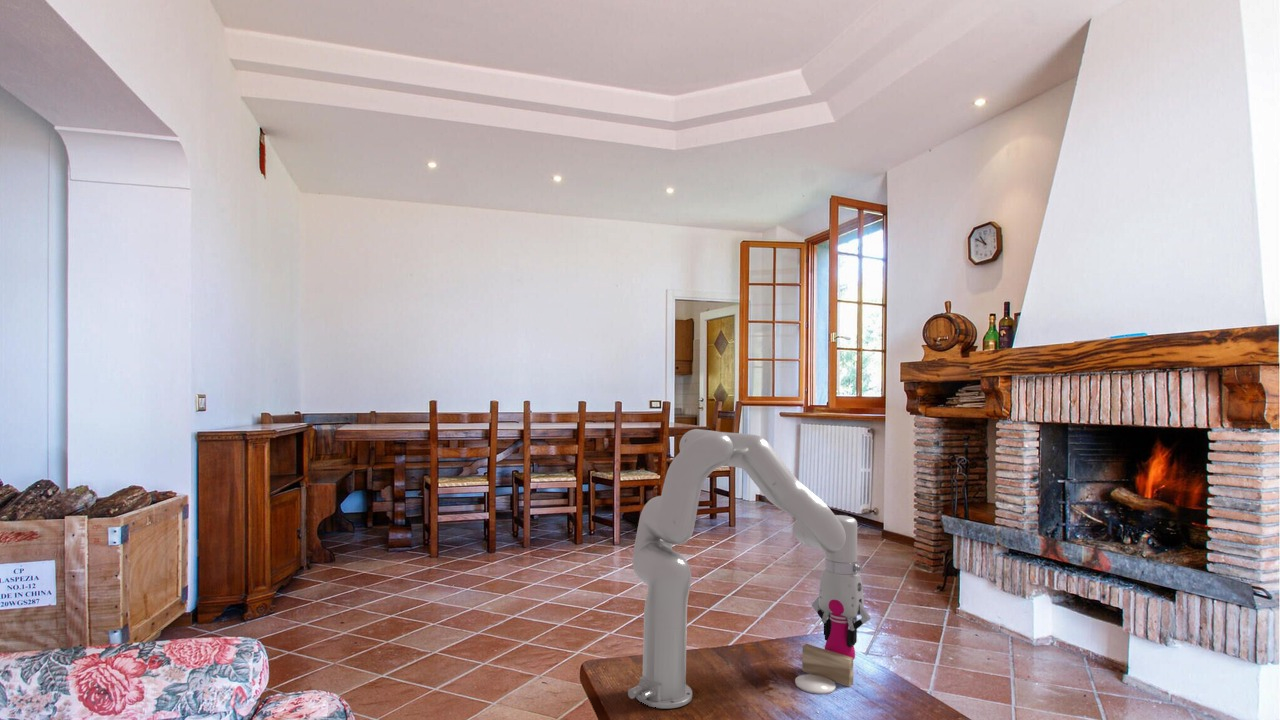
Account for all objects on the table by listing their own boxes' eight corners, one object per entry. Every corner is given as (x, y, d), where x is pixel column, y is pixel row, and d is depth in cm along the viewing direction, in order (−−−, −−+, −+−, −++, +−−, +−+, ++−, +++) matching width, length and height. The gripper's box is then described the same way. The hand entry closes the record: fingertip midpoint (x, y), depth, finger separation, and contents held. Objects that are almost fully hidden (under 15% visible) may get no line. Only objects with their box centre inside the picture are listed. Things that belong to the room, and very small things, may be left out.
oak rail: (849, 686, 150) (849, 660, 151) (802, 671, 158) (802, 645, 159) (853, 684, 152) (853, 657, 152) (806, 668, 160) (806, 643, 160)
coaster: (824, 697, 144) (824, 695, 144) (788, 685, 150) (788, 682, 150) (842, 685, 151) (842, 682, 151) (806, 673, 157) (806, 671, 157)
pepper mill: (843, 679, 154) (845, 593, 155) (818, 669, 159) (819, 586, 161) (860, 672, 158) (861, 588, 160) (835, 662, 164) (836, 581, 165)
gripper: (881, 571, 158) (880, 648, 156) (816, 558, 169) (815, 629, 168) (868, 576, 152) (867, 656, 151) (802, 562, 164) (800, 636, 162)
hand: (839, 641), depth 159 cm, fingers closed on pepper mill, 5 cm apart
